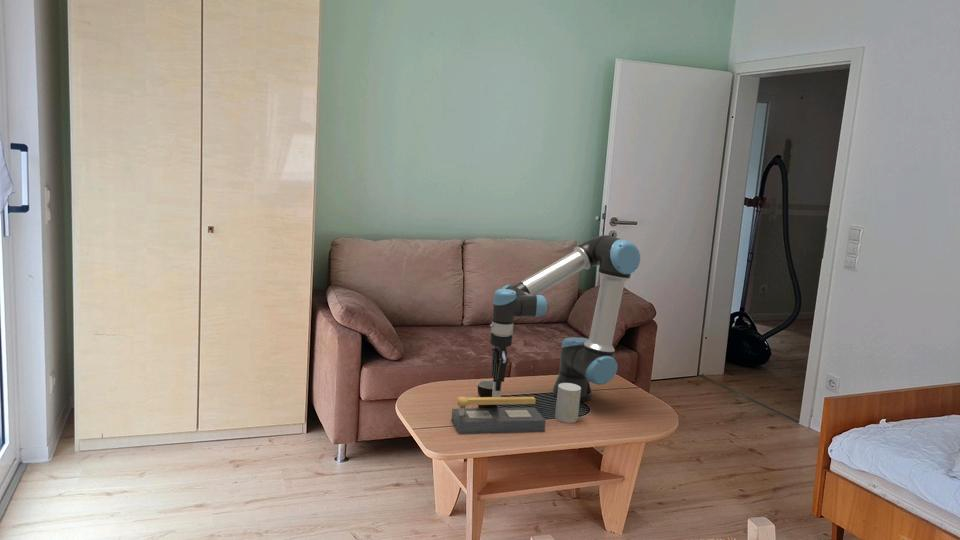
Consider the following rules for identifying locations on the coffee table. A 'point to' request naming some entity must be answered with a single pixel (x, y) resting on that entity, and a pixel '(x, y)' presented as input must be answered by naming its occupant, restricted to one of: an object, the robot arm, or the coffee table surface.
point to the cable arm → (494, 400)
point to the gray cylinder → (567, 402)
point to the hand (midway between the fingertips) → (496, 398)
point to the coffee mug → (485, 392)
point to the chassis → (497, 420)
